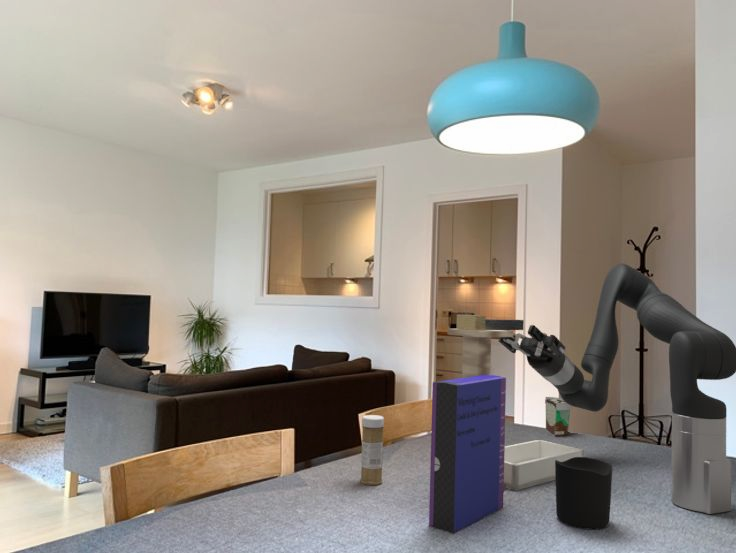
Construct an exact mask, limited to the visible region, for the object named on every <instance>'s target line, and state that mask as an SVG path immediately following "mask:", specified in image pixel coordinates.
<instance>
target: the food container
mask: <svg viewBox="0 0 736 553" xmlns="http://www.w3.org/2000/svg"><path fill="white" fill-rule="evenodd" d="M544 404H545V431H546V432H547V433H548V434H550V435H551V436H553V437H554V438H564V437H568V435H569V424H570V414H571V410H573V406H571V405H569V404H567V403H566V402H565V401H564V400H563V399H562V397H554V396H545V399H544Z"/></svg>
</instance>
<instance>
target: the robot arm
mask: <svg viewBox="0 0 736 553" xmlns="http://www.w3.org/2000/svg"><path fill="white" fill-rule="evenodd" d="M617 302H619V303H621V304H623V305H625V306H626V307H628V308H630V309H632V310H634V311H636V316H637V321H639V324H640V325H641V326H642V327H643V328H644V329H645V331H647V332H648V334H650V335H651V336H653V337H654V338H655V339H657V340H658V341H661V342H663V343H666V344H669V346H668V365H669V367H668V368H669V386H670V388H669V389H670V390H669V391H670V392H669V393H670V394H669V395H670V400H671V401H670V402H671V478H670V479H671V488H670V489H671V496H670V497H671V499H670V500H671V502H672V503H673V505H676V506H679V507H681V508H683V509H686V510H689V511H690V510H691V511H695V512H699V513H700V512H701V513H704V514H707V515H714V514H719V513H725V512H731V511H732V459H730V458H727V410H728V409H727V404H726V403H725V402H724V401H722V400H720V399H718V398H715V397H712V396H709V395H707V394H706V393H704V392H703V391H702V390H700V389H699V385H698V380H708V381H709V380H711V381H718V380H719V381H720V380H725V379H729V378H731V377H732V376H733V375H734V374H736V345H735V343H734V342H733V340H732V339H731V338H730V337H729V336H728V335H727V334H726V333H724V332H722V331H721V330H718V329H717V328H715V327H713V326H712V325H709V324H708V323H706V322H705V321H703V320H701V319H700V318H698V317H697V316H696V315H695V314H693V313H692V312H691V311H689V310H688V309H687V308H685V306H683V305H682V303H680V302H679V301H677V299H675V298H674V297H672V296H671V295H669V294H668V293H664V292H662V291H661V290H660V289H659V287H658V286H657V285H656V283H655V282H654V281H653V280H652V279H651V278H650V277H649V276H647V275H646V274H644V273H642V272H641V271H639V270H637V269H636V268H633V267H632V266H630V265H628V264H626V263H618V264H616V265H614V266H613V267H612V268H611V269H610V270H609V271H608V273H607V274H606V277H605V279H604V282H603V284H602V288H601V291H600V296H599V300H598V306H597V309H596V316H595V320H594V325H593V328H592V333H591V335H590V339H589V340H588V343H587V346H586V348H585V351H584V353H583V356H582V359H581V363H580V366H581V369H582V370H583V371H585V372H586V373H588V374H590V375H592V378H591V380H587V379H585V376H584V374H583V372H582V371H581V369H579V367H577V366H576V364H575V363H574V362H572V360H571V359H570V356H568V355H567V354H566V352H565V350H566V346H565V345H564V343H562V342H561V341H560V339H559V338H558V337H557V336H556V335H555V334H550V335H548V334H547V333H545V332H542V331H541V330H540V329H539V328H538V327H536V325H534V324H530V325H529V327H528V330H527V335H529V336H530V337H528V336H526V335H524V334H522V333H520V332H519V333H516V332H513V337H498V342H499V343H500V344H501V345H502V346H503V347H505V348H506V349H507V351H509V352H511V353H512V354H516V352H517V351H519V352H520V353H522V354H523V355H525V356H526V359H527V362H528V364H529V366H530V367H531V368H532V369H533V370H534V371H536V373H537V374H539V375H540V376H541V377H542V378H543V379H544V380H546V381H547V382H549V383H550V384H551V385H552V386H553V387H555V388H556V389H557V391H558V393H559V396H560V398H562V399H563V400H564V401H565V402H566V403H567V404H569V405H571V406H572V407H575V408H579V409H583V410H586V411H590V412H594V413H595V412H599V411H601V410H602V409H604V407H605V406H606V405H607V402H608V399H609V383H610V374H611V373H610V372H611V370H612V369H611V368H612V366H613V364H614V361H615V359H616V356H617V353H618V351H619V350H618V349H619V343H620V342H619V335H618V334H619V333H618V326H617V319H616V307H617ZM506 331H511V330H506ZM520 339H521V341H520V344H519V340H520Z"/></svg>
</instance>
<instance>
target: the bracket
mask: <svg viewBox="0 0 736 553" xmlns="http://www.w3.org/2000/svg"><path fill="white" fill-rule="evenodd" d="M513 333H514V330H510V331H506V330H485V331H474V330H460V329H457V328H447V335H449V336H462V363H461V364H462V367H461V368H462V369H461V372H462V373H461V378H466V377H473V376H480V375H491V362H492V361H491V354H492V353H491V352H492V338H500V337H512V338H514V337H513ZM506 489H507V488H506V484H504V491H506Z"/></svg>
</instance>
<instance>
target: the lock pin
mask: <svg viewBox="0 0 736 553" xmlns="http://www.w3.org/2000/svg"><path fill="white" fill-rule="evenodd" d="M456 329H460V330H474V331H485V330H510V331H524V319H504V318H502V319H499V318H498V319H497V318H494V319H493V318H491V319H490V318H486V315H478V314H456Z"/></svg>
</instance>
